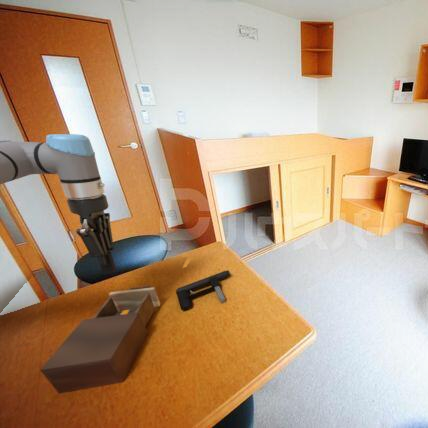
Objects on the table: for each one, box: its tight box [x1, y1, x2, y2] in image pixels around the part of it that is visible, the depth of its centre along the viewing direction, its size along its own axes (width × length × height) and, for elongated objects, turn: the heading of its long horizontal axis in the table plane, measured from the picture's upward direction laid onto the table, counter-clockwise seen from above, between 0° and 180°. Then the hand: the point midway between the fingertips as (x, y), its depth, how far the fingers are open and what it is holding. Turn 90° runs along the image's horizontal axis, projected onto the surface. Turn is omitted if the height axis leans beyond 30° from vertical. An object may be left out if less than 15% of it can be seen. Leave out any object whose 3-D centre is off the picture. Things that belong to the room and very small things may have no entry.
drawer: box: [92, 285, 161, 327], centre depth 79 cm, size 18×13×8 cm
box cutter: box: [116, 309, 137, 315], centre depth 78 cm, size 8×3×3 cm, turn 101°
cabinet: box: [39, 312, 149, 394], centre depth 66 cm, size 15×15×10 cm
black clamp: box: [175, 269, 231, 311], centre depth 91 cm, size 3×20×16 cm
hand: (109, 272), depth 71 cm, fingers closed
